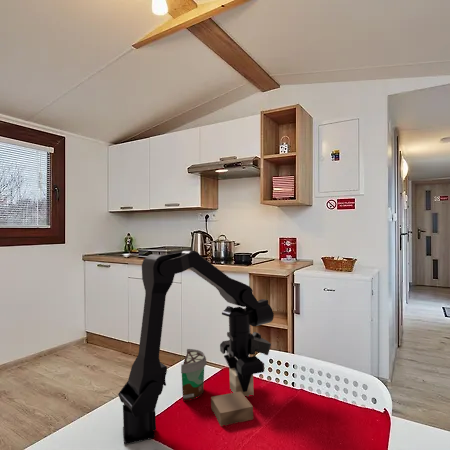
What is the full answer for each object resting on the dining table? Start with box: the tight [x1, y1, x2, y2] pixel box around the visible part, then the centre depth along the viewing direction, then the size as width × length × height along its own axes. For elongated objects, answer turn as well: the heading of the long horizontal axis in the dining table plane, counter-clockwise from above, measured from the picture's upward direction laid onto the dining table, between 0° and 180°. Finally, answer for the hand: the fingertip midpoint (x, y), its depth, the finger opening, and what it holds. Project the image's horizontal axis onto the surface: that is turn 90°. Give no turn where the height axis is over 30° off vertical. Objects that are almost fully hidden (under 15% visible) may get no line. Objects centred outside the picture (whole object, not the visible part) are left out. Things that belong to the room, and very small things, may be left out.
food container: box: [180, 348, 208, 402], centre depth 96 cm, size 12×6×10 cm, turn 179°
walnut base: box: [210, 391, 254, 427], centre depth 84 cm, size 8×8×3 cm
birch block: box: [228, 367, 255, 397], centre depth 95 cm, size 5×5×6 cm
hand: (241, 387), depth 95 cm, fingers closed on birch block, 5 cm apart
